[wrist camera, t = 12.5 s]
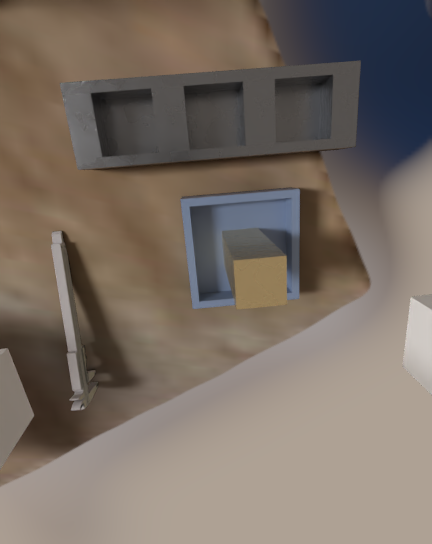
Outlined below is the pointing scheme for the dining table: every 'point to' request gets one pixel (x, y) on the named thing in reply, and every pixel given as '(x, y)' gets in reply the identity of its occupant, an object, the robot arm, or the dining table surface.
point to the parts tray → (231, 216)
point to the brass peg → (254, 269)
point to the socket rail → (212, 115)
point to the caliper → (72, 328)
